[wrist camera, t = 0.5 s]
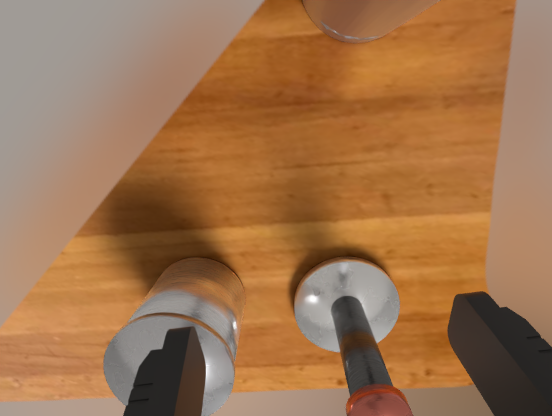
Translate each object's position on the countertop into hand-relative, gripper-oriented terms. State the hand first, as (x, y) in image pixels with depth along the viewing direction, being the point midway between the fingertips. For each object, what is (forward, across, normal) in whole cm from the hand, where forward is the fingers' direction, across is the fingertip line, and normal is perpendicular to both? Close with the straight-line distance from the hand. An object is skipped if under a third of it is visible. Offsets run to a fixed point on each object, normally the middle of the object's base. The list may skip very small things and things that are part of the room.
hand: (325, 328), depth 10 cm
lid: (+17, -5, +16) cm, 24 cm away
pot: (+18, +9, +15) cm, 25 cm away
